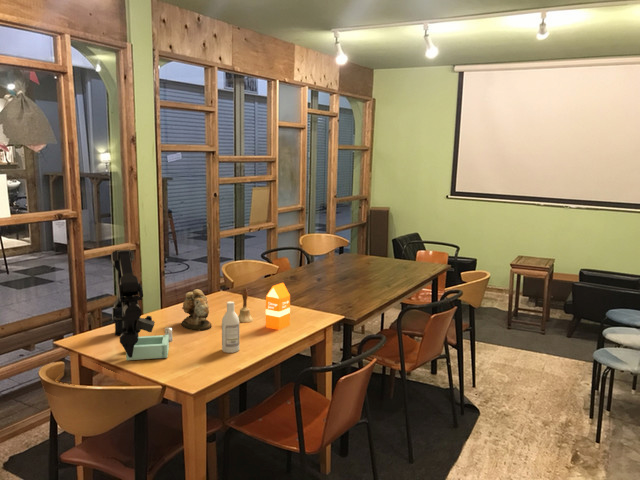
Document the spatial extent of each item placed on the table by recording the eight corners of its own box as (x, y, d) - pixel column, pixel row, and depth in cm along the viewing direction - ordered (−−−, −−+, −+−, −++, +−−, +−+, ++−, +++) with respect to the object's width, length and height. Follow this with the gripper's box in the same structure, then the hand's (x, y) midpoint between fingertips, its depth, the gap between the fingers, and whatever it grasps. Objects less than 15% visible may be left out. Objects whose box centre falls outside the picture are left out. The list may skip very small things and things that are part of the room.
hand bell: (256, 318, 255) (256, 286, 253) (249, 323, 247) (249, 290, 245) (240, 316, 257) (240, 285, 255) (233, 321, 250) (232, 288, 247)
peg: (165, 342, 220) (164, 329, 219) (165, 339, 223) (164, 327, 222) (172, 341, 221) (172, 329, 220) (172, 339, 224) (172, 326, 223)
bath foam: (242, 350, 213) (242, 302, 210) (229, 354, 208) (228, 305, 205) (232, 345, 217) (232, 299, 214) (218, 350, 212) (218, 302, 209)
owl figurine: (173, 324, 244) (172, 288, 242) (194, 319, 253) (194, 284, 251) (196, 332, 233) (196, 295, 230) (218, 327, 241) (217, 290, 239)
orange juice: (290, 325, 246) (290, 283, 243) (279, 330, 239) (279, 287, 236) (276, 322, 250) (276, 281, 247) (265, 327, 243) (265, 284, 240)
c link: (168, 346, 214) (168, 334, 213) (167, 357, 202) (167, 345, 202) (129, 349, 210) (129, 337, 210) (126, 360, 199) (125, 347, 198)
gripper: (151, 319, 191) (152, 360, 193) (154, 305, 208) (155, 343, 211) (118, 321, 188) (120, 362, 190) (124, 306, 206) (125, 345, 208)
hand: (131, 352), depth 200 cm, fingers open, 9 cm apart
